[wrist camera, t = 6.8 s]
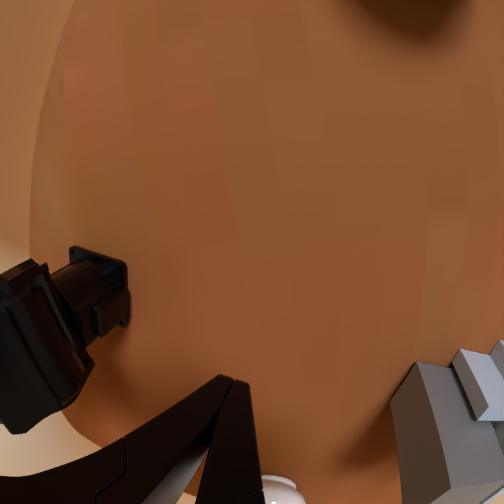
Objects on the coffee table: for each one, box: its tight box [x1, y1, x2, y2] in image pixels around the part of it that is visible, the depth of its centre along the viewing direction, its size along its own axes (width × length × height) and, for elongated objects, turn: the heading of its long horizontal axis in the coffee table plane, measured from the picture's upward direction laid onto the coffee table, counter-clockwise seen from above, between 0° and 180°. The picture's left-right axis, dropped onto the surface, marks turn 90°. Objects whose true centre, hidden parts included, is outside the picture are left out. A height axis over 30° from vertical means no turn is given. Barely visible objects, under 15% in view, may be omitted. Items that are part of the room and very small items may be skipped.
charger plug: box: [390, 362, 504, 504], centre depth 15 cm, size 8×5×12 cm, turn 77°
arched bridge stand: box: [452, 340, 504, 504], centre depth 15 cm, size 5×12×12 cm, turn 166°
